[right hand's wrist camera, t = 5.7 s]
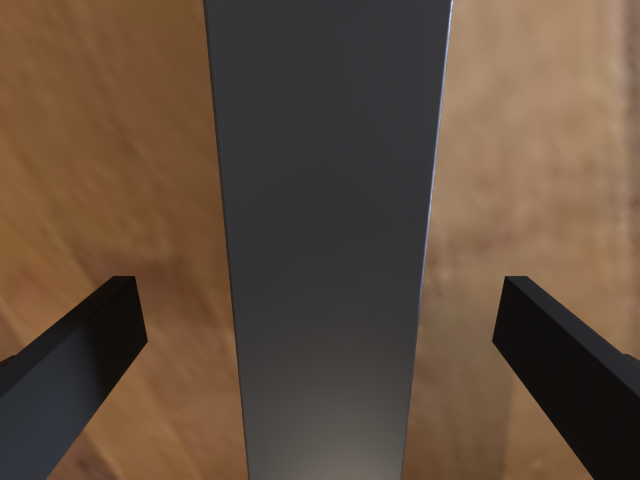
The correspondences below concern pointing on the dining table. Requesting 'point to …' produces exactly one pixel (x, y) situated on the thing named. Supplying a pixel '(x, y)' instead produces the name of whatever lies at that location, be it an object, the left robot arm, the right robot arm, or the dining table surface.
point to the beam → (326, 220)
